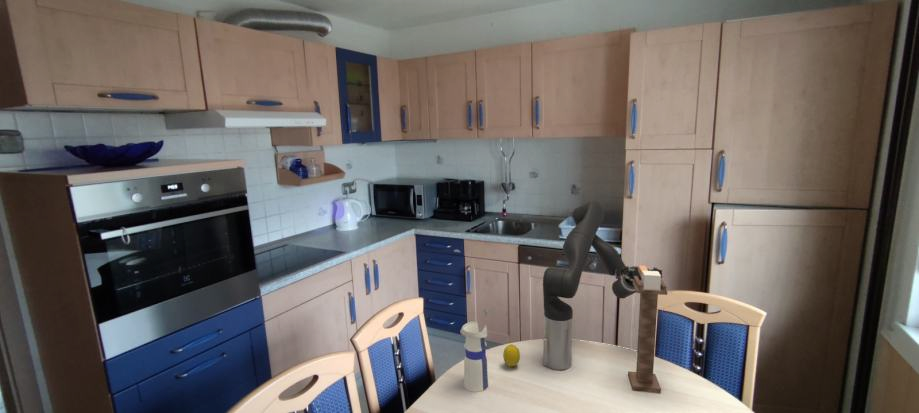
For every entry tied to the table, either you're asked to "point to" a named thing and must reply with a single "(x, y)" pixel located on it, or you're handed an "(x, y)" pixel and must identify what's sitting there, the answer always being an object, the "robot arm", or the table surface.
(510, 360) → the lemon
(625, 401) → the table surface
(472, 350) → the white and blue pitcher
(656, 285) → the plug rod
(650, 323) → the tall stand
